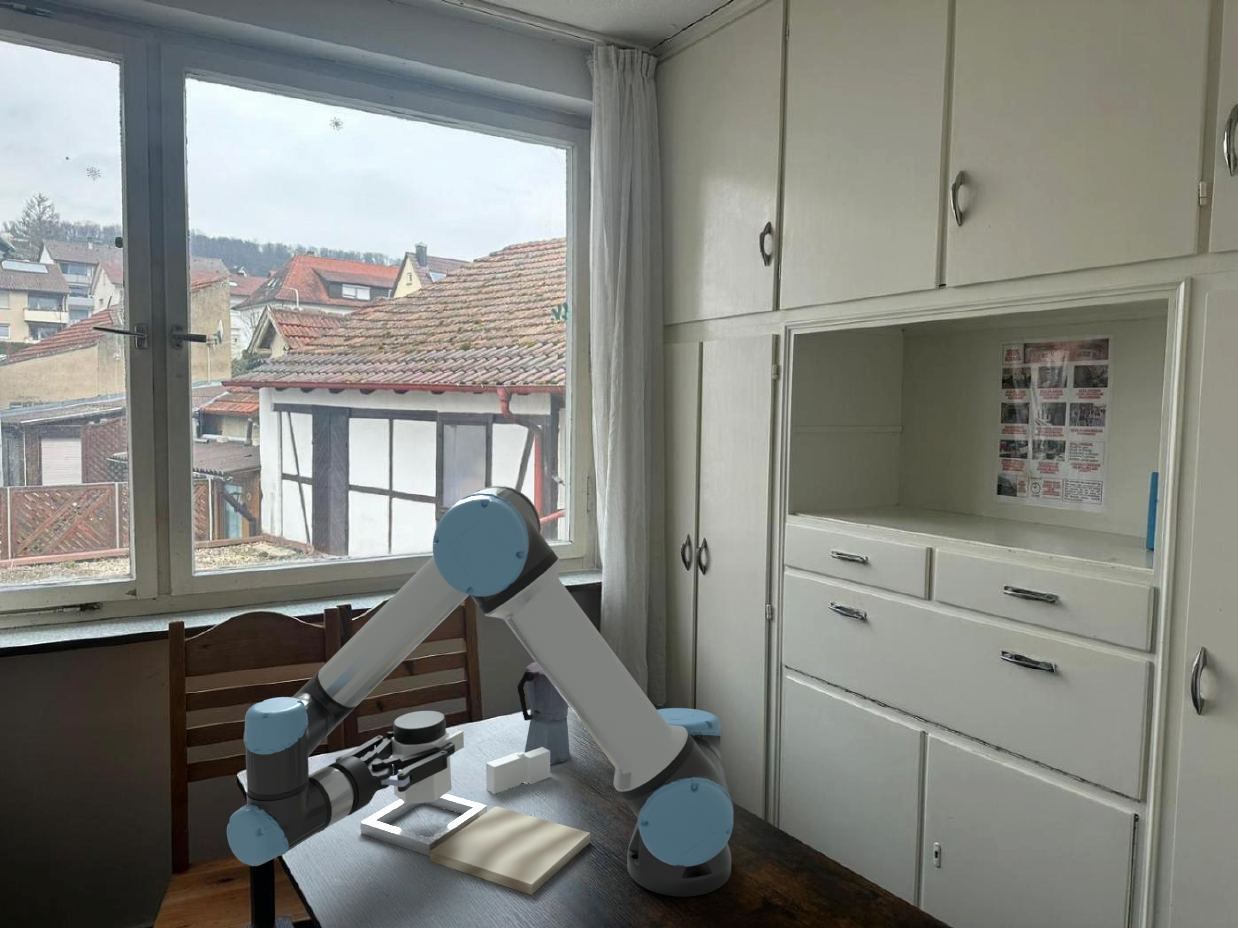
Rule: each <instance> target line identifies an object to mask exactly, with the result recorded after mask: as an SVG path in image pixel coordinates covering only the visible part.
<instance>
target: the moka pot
mask: <svg viewBox="0 0 1238 928" xmlns="http://www.w3.org/2000/svg"><path fill="white" fill-rule="evenodd" d="M522 675H523V676H522V678H521V679H520V681H519V682H518V684H517V693H518V696H519V702H520V707H521V711H522V712H521V713H522V716H523V721H529V725H528V731H527V737H526V742H525V748H524V753H526V752H529V751H532V750H535V749H538V748H541V747H543V748H545V749H547V750H550V765H551V764H552V765H553V764H559V763H563V762H565V761H567V760H569V759H570V756H571V751H570V740H569V725H568V714H569V713H568V711H569V708H570V707H569V706H568V704H567V703H566V702H565V700H564V699H563V698H562V696H561V695H560V694H559V692H558V691H557V690H556V688H555V687H554V686H553V684H552V683H551V682H550V680H549V679H548V678H547V676H546V675H545V674H544V672H543V671H542V670H541V668H540V667H539V666H538V664H537V663H536V662H535V661H533V662H531V663H530V664H529V665H527V666H526V668H525V671H524V673H523V674H522ZM525 684H526V685H527V686H526V687H527V700H528V702H526V693H525V689H524V686H525ZM526 703H528V706H529V708H530V710H529V711H530V714H529V712H528V708H527V704H526Z"/></svg>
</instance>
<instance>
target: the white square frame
mask: <svg viewBox="0 0 1238 928" xmlns="http://www.w3.org/2000/svg"><path fill="white" fill-rule="evenodd" d="M425 803H427V804H426V805H429V804H430V805H429V806H432V805H434V806H433V807H435V806H437V807H436V808H439V807H441V808H440V809H442V808H445V809H444V810H446V809H447V811H449V810H450V812H452V811H456V812H458V813H457V814H459V813H462V814H460V816H459V817H456V819H454V820H452V821H451V822H449V823H448V824H446V825H445V826H444V827H442V828H441V829H439V830H438V831H436V832H434V833H433V834H432V835H430V836H429V837H428V836H426V835H422V834H419V833H416V832H412V831H409V830H406V829H403V828H400V827H397V826H393V825H390V823H391V822H392V821H394V820H396V819H398V818H400V817H401V816H402V815H404V814H406V813H408V812H409V811H410V810H413V809H414V808H415V807H417V806H419V805H421V804H420V803H415V804H406V803H404V802H403V801H402V800H401V799H400V798H398V799H397V800H396V801H394V802H393V803H391V804H389V805H387V806H386V807H384V808H382V809H381V810H379V811H377V812H375V813H374V814H372V815H370V816H369V817H367V818H365V819H363V820H362V821H361V822H360V834H362V835H365V836H368V837H370V838H373V839H376V840H380V841H383V842H386V843H389V844H392V845H394V846H395V845H396V846H398V847H402V848H404V849H407V850H410V851H414V852H416V853H420V854H422V855H425V856H428V857H430V851H431V850H433V849H434V848H436V847H437V846H439V845H440V844H442V843H443V842H444V841H446V840H447V839H449V838H450V837H452V836H453V835H455V834H456V833H457V832H459V831H460V830H462V829H463V828H465V827H466V826H468V825H469V824H470V823H472V822H473V821H475V820H476V819H478V818H479V817H481V816H482V815H483V814H485V813H486V812H488V805H487V804H484V803H480V802H477V801H472V800H470V799H469V800H468V799H466V798H462V797H458V796H454V795H453V794H452V795H451V794H448V793H446V794H444V795H443V796H442V797H440V798H439V799H438V800H436V801H435V802H425ZM425 803H424V804H425ZM418 804H419V805H418ZM456 812H455V813H456Z"/></svg>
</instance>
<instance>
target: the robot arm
mask: <svg viewBox="0 0 1238 928" xmlns="http://www.w3.org/2000/svg"><path fill="white" fill-rule="evenodd" d="M541 527H542V526H541V518H540V515H539V512H538V510H537V507H536V506H535V505H534V503H533V502H532V500H531V499H530V498H529V497H528V496H527V495H525V494H524V493H523V492H521V491H519V490H517V489H515V488H513V487H510V486H506V485H491V486H488V487H483V488H481V489H479V490H476V491H475V492H474V493H472V494H468V495H466V496H464V497H463V498H461V499H459V500H457V501H456V502H455V503H453V505H452V506H451V507H450V508H448V509H447V510H446V511H445V513H444V514H443V516H442V517H441V519H440V520H439V522H438V524H437V525H436V529H435V530H434V533H433V534H434V535H433V538H432V555H433V556H432V557H431V558H430V559H429V560H427V562H426V563H425V564H423V566H422V567H421V568H420V569H419V570H417V572H416V573H414V575H413V576H411V577H410V579H409V580H408V581H406V582H405V583H404V584H403V586H401V588H400V589H399V590H398V591H397V592H396V593H394V595H393V596H392V597H391V598H390V599H388V601H387V602H386V603H385V604H383V606H382V607H380V608H379V610H378V611H377V612H376V613H375V614H374V615H373V616H371V618H370V619H369V620H368V621H367V622H366V623H365V624H364V625H363V626H362V627H361V628H360V629H359V630H358V631H356V633H355V634H354V635H353V636H352V637H351V638H350V639H349V640H348V641H347V642H346V643H345V644H343V646H342V647H341V648H340V649H339V650H338V651H337V652H336V653H335V654H334V655H333V656H332V657H331V658H330V659H329V660H328V661H327V662H326V663H325V664H324V665H323V666H322V667H321V668H320V669H319V670H318V671H317V672H316V673H315V674H314V675H313V676H312V677H311V678H310V679H309V680H308V681H307V682H306V683H305V684H304V685H303V686H302V687H301V688H300V689H299V690H298V691H297V692H296V693H295V694H294V695H293V696H290V697H289V696H286V697H285V696H281V697H272V698H268V699H264V700H263V701H261V702H256V703H255V704H252V706H250V707H249V708H248V710H247V711H246V713H245V715H244V732H243V744H244V753H245V754H244V755H245V770H246V771H245V772H246V773H245V774H246V785H247V786H246V788H247V790H246V791H247V792H246V804H244V805H243V806H241V807H240V808H239V809H237V810H236V811H234V812H233V813H232V814H231V816H230V817H229V823H228V824H227V826H226V836H227V842H228V845H229V848H230V850H231V852H232V853H233V855H234V856H235V858H236V859H238V860H239V861H240V862H241V863H242V864H246V865H248V866H251V867H254V866H255V867H258V866H261V865H263V864H266V863H268V862H269V861H271V860H274V859H275V858H277V857H280V856H283V855H285V854H287V853H288V852H289V851H290V850H292V849H293V848H296V847H297V846H299V845H300V844H301V843H303V842H305V841H306V840H308V839H310V838H311V837H313V836H315V835H316V834H319V833H320V832H323V831H325V830H326V829H327V828H329V827H330V826H333V825H335V824H336V823H338V822H340V821H342V820H343V819H346V817H348V816H351V815H353V814H354V813H356V812H358V811H359V810H361V809H363V808H365V807H367V806H368V805H369V804H370V802H371V801H372V799H373V798H374V797H375V794H376V793H377V792H378V791H382V790H385V789H387V788H389V787H390V786H393V787H394V786H398V791H399V792H404V791H406V790H407V789H408V788H409V787H410V786H411V785H413V784H415V783H418V782H420V781H422V780H424V779H426V778H428V777H430V776H432V775H434V774H436V773H438V772H440V771H442V770H444V769H446V768H447V757H449V756H450V757H451V756H453V755H454V754H455V753H456V752H458V751H460V750H462V749H464V748H465V746H464V743H465V741H464V735H465V734H464V730H458V731H456V732H455V733H452V734H451V735H449V736H448V737H447V738H445V739H443V740H441V741H439V742H438V743H436V744H435V745H434V748H432V749H429V750H425V751H422V752H419V753H416V754H412V755H409V756H406V757H403V758H397V757H392V740H391V739H392V737H394V731H388V732H386V738H384V736H383V735H377V736H375V737H373V738H372V739H370V740H367V741H366V742H364V743H363V744H360V746H357V747H356V748H355V749H352V750H351V751H349V752H347V753H345V754H342V755H339V756H336V757H335V762H333V763H330V764H329V765H327V766H324V767H321V768H320V769H318V770H316V771H314V772H312V773H311V774H309V773H310V772H309V756H310V755H311V754H312V753H313V752H314V750H316V748H318V747H319V745H320V744H321V743H322V742H323V741H324V740H325V739H326V738H327V737H328V735H330V734H331V732H333V731H334V730H335V729H336V728H337V727H338V726H339V725H340V724H341V723H342V722H344V719H345V718H347V717H348V716H349V714H350V713H352V712H353V711H354V710H355V709H356V707H357V706H358V705H359V704H360V703H362V701H364V699H366V697H368V695H370V694H371V693H372V691H373V690H375V688H377V687H378V686H379V684H381V682H383V681H384V679H386V678H387V677H388V676H389V675H390V674H391V673H392V672H393V671H394V670H395V669H396V668H397V667H398V666H399V665H400V664H401V663H402V662H403V661H404V660H405V659H406V658H407V657H408V656H409V655H410V654H411V653H412V652H413V651H414V650H415V649H416V648H418V646H419V645H420V644H421V643H423V641H425V639H426V638H427V637H428V636H430V634H431V633H432V632H433V631H435V629H436V628H438V626H439V625H440V624H441V623H442V622H443V621H445V620H446V619H447V618H448V616H450V615H451V613H453V611H455V610H456V609H457V608H458V607H459V606H460V605H461V604H462V603H463V602H464V601H465V600H466V599H467V598H468V597H469V596H470V597H471V598H472V600H473V601H474V603H475V604H476V605H477V606H478V608H479V609H480V611H481V612H482V613H483V614H484V615H485V617H491V618H497V619H501V620H503V621H504V622H505V623H506V625H508V626H507V627H509V628H510V630H511V631H512V633H513V635H515V637H516V638H517V639H518V640H519V641H520V643H521V645H522V646H523V647H524V648H525V650H526V652H528V653H529V655H530V657H531V658H532V659H533V661H534V662H536V663H537V664H538V666H539V667H540V668H541V670H542V671H543V672H544V674H545V675H546V676H547V678H548V679H549V680H550V682H551V683H552V684H553V686H554V687H555V688H556V690H557V691H558V692H559V694H560V695H561V696H562V698H563V699H564V700H565V702H566V703H567V704H568V706H569V707H568V708H570V710H571V711H572V712H573V713H574V715H575V716H576V718H577V719H578V721H580V723H581V725H583V727H584V729H585V730H586V731H587V732H588V733H589V735H590V737H592V739H593V740H594V741H595V743H596V744H597V746H598V747H599V748H600V750H601V751H602V752H603V754H604V755H605V756H606V757H607V759H608V761H609V762H610V763H611V764H612V766H613V767H614V776H613V786H614V788H615V790H616V791H617V792H618V794H619V795H620V796H621V798H622V799H623V801H625V803H626V804H627V806H628V808H630V810H631V811H632V813H633V814H634V815H635V816H636V818H637V821H636V824H635V826H634V830H633V832H632V836H631V838H630V841H629V845H628V849H627V855H626V856H627V860H626V861H627V862H626V863H627V864H626V868H627V872H628V874H629V877H631V879H632V880H633V881H634V882H635V883H637V885H639V886H641V887H642V888H644V889H645V890H648V891H651V892H653V893H656V894H659V895H663V896H669V897H684V898H685V897H696V896H701V895H706V894H709V893H711V892H714V891H716V890H718V889H720V888H721V887H723V886H724V885H725V884H726V883H727V882H728V880H729V879H730V878H731V873H732V855H731V854H732V853H731V849H730V845H729V843H728V841H729V840H730V838H731V835H732V832H733V829H734V814H735V813H734V812H735V811H734V804H733V799H732V798H731V796H730V792H729V788H728V783H727V779H726V774H725V771H724V766H723V762H722V753H721V750H722V749H721V737H723V733H722V731H721V730H722V729H721V728H722V727H721V720H720V719H719V718H718V717H717V715H715V714H713V713H712V712H708V711H705V710H701V709H695V708H684V707H673V708H672V707H671V708H661V709H657V708H656V707H655V705H654V704H653V703H652V702H651V700H650V699H649V698H648V696H647V695H646V694H645V692H644V691H643V690H642V688H641V687H640V685H639V684H638V683H637V681H636V680H635V679H634V677H633V676H632V675H631V674H630V672H629V671H628V669H627V668H626V667H625V665H624V664H623V662H622V660H620V658H619V657H618V656H617V655H616V653H615V652H614V651H613V649H612V648H611V647H610V645H609V643H608V642H607V641H606V639H604V637H603V635H601V633H600V632H599V630H598V629H597V628H596V626H595V625H594V624H593V622H592V621H591V620H590V618H589V617H588V615H587V614H586V613H585V612H584V611H583V609H582V607H580V605H579V604H578V602H577V601H576V599H575V598H574V597H573V595H572V594H571V593H570V592H569V590H568V589H567V588H566V586H565V585H564V584H563V582H562V580H560V578H559V567H560V558H559V557H558V556H557V554H556V553H555V551H554V550H553V549H552V548H551V546H550V544H549V543H548V542H547V541H546V539H545V538H544V536H543V535H542V534H541V530H542V528H541Z"/></svg>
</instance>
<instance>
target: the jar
mask: <svg viewBox="0 0 1238 928" xmlns="http://www.w3.org/2000/svg"><path fill="white" fill-rule="evenodd" d="M392 725H393V726H392V728H393V732H394V737H392V739H391V740H392V755H391V758H392V757H397V758H403V757H406V756H409V755H412V754H416V753H419V752H422V751H425V750H429V749H432V748H434V745H435V744H436V743H438V742H439V741H441V740H443V739H445V738H447V737H448V736H450V735H449V732H448V731H447V727H446V726H447V725H446V716H445V714H443V713H442V712H440V711H435V710H418V711H412V712H408V713H405V714H402V715H400V716H399V717H397V718H395V719H394V721H393V723H392ZM451 790H452V772H451V755H450V756H449V757H447V768H446V769H444V770H442V771H440V772H438V773H436V774H434V775H432V776H430V777H428V778H426V779H424V780H422V781H420V782H418V783H415V784H413V785H411V786H410V787H409V788H408V789H407V790H406V791H404V792H399V791H398V786H393V791H394V795H395V796H396V797H397V798H398V799H401V800H402V801H403V802H404V803H406V804H415V803H421V804H425V802H435V801H436V800H438V799H439V798H440V797H442V796H443V795H444V794H448V792H450V791H451Z"/></svg>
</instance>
